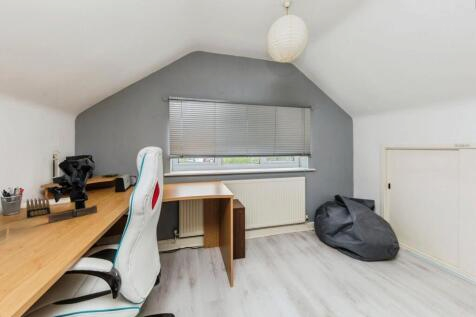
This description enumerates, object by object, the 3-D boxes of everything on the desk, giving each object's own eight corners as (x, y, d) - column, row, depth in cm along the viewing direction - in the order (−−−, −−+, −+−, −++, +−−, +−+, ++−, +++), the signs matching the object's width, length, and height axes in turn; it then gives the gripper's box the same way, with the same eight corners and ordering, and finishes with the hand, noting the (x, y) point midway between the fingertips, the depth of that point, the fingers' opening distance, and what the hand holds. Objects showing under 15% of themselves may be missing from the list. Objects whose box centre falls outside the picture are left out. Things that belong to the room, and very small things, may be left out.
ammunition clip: (26, 218, 121) (24, 199, 120) (27, 217, 122) (25, 199, 121) (50, 214, 127) (48, 196, 126) (50, 213, 129) (49, 196, 128)
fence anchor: (72, 217, 121) (71, 209, 121) (96, 211, 130) (95, 204, 130) (73, 217, 120) (72, 210, 119) (97, 212, 129) (96, 205, 129)
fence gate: (48, 222, 113) (48, 214, 113) (72, 217, 121) (71, 210, 121) (49, 223, 112) (48, 215, 111) (72, 217, 120) (72, 210, 119)
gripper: (43, 175, 116) (34, 199, 108) (73, 167, 117) (67, 190, 108) (59, 183, 126) (53, 206, 117) (88, 175, 126) (83, 197, 118)
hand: (64, 200), depth 115 cm, fingers open, 9 cm apart
